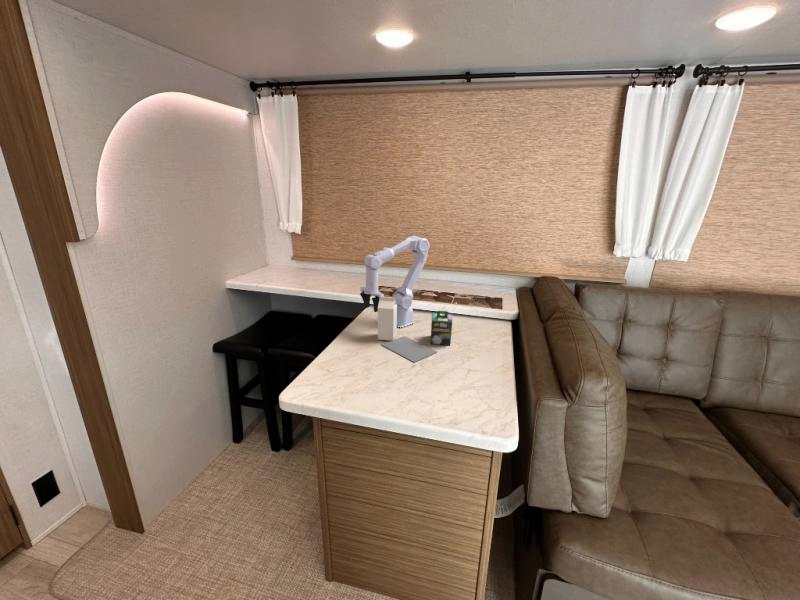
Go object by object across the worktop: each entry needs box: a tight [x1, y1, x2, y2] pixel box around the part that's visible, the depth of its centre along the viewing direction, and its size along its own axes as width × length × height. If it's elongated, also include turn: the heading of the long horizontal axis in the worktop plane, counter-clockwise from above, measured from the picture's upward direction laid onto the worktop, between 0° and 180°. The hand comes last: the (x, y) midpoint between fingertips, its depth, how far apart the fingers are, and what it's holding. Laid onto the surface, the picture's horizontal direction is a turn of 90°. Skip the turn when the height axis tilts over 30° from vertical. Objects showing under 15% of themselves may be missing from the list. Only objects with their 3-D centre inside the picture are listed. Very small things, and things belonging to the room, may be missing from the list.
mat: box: [381, 335, 438, 364], centre depth 150 cm, size 14×20×1 cm
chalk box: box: [429, 310, 453, 346], centre depth 157 cm, size 9×9×15 cm
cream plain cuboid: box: [377, 296, 398, 342], centre depth 157 cm, size 7×7×19 cm
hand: (371, 309), depth 164 cm, fingers open, 6 cm apart
